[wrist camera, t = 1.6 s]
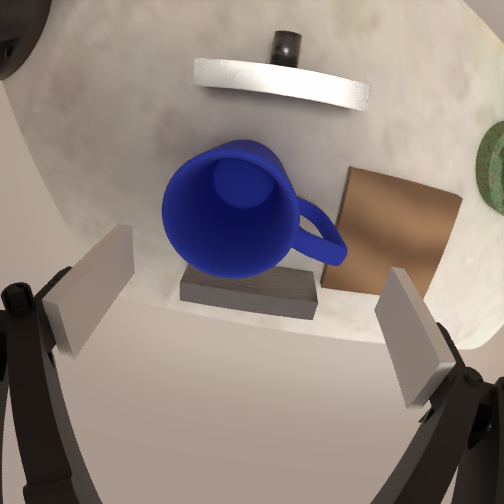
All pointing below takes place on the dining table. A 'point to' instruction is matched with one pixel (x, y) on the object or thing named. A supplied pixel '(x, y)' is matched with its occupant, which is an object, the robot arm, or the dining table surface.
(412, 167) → the dining table surface
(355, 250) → the walnut board
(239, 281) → the vise jaws
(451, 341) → the robot arm
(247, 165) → the mug
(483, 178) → the decorative artifact
